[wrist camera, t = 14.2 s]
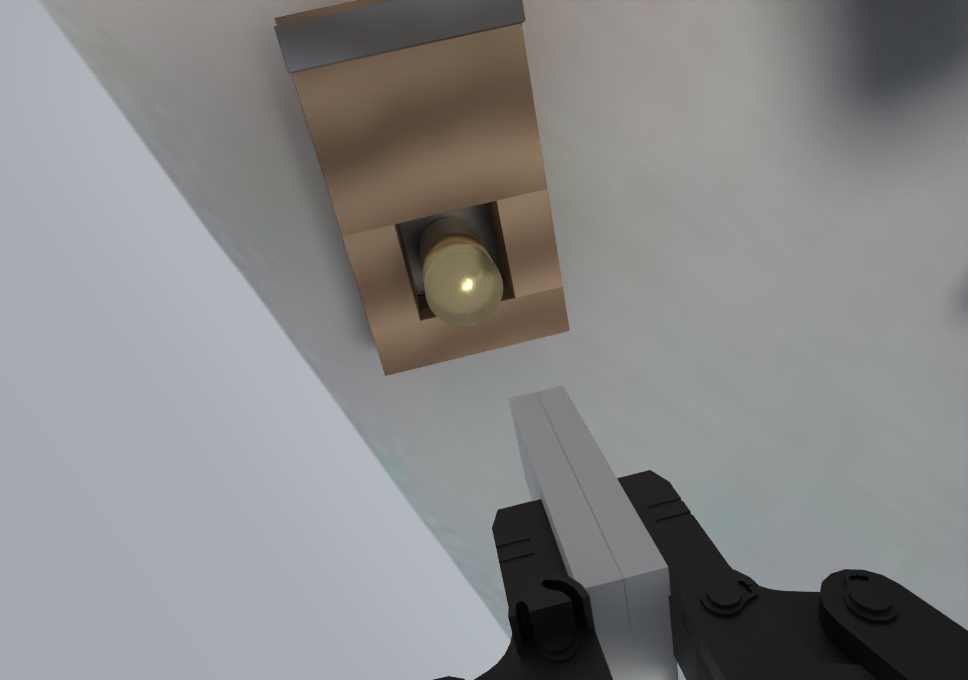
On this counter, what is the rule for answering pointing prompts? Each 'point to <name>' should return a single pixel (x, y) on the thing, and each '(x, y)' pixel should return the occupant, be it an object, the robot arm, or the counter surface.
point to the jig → (429, 158)
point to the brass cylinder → (458, 273)
